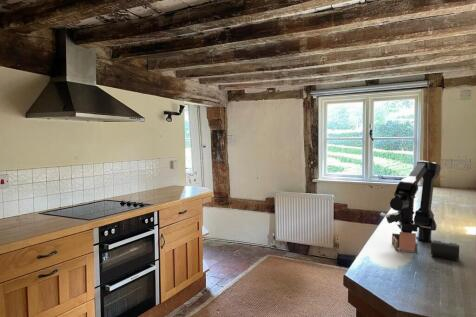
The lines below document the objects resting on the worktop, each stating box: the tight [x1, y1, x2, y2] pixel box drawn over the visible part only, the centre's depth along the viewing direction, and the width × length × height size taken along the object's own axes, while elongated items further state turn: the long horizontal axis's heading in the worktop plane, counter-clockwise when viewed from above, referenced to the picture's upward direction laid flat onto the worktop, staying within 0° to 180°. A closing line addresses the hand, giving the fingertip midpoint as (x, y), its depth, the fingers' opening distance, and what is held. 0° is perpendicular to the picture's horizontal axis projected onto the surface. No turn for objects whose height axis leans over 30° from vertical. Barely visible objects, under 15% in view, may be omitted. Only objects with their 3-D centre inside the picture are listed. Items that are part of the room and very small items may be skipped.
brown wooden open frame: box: [391, 232, 419, 254], centre depth 153 cm, size 11×9×5 cm
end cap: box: [430, 240, 460, 261], centre depth 141 cm, size 10×7×7 cm
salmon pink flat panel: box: [398, 231, 417, 254], centre depth 147 cm, size 1×7×9 cm, turn 74°
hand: (404, 241), depth 153 cm, fingers closed
